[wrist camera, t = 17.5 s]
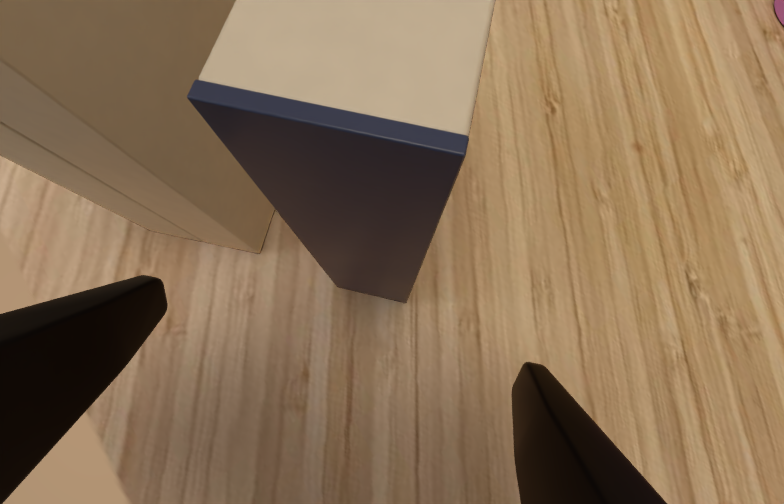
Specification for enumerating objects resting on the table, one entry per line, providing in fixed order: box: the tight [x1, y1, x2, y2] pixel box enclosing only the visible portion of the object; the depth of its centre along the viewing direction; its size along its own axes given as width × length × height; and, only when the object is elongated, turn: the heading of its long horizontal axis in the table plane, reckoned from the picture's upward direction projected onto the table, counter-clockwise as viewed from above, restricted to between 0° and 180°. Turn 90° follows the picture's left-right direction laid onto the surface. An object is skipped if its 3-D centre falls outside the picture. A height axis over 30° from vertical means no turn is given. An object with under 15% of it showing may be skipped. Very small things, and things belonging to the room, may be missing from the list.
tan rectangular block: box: [0, 0, 275, 254], centre depth 12 cm, size 9×7×13 cm
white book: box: [187, 0, 495, 303], centre depth 12 cm, size 9×4×13 cm, turn 167°
